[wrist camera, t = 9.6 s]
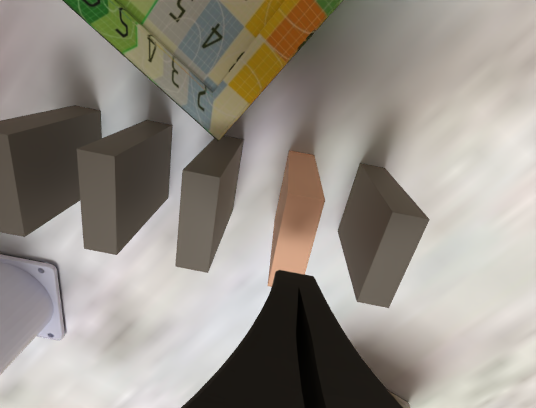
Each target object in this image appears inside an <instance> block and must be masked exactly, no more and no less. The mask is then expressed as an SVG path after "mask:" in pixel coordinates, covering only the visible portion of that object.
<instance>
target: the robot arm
mask: <svg viewBox="0 0 536 408" xmlns="http://www.w3.org/2000/svg"><path fill="white" fill-rule="evenodd" d="M43 269H44V270H43ZM36 336H38V337H43V338H48V339H53V340H61V339H62V338H63V337H64V336H65V332H64V323H63V315H62V307H61V299H60V291H59V283H58V275H57V269H56V267H55V266H54V265H52V264H48V263H43V262H38V261H32V260H27V259H22V258H17V257H12V256H7V255H1V254H0V375H1V374H2V373H3V372H4V370H5V369H6V368H7V367H8V366H9V365H10V364H11V363H12V362H13V361H14V360H15V359H16V358H17V356H18V355H19V354H20V353H21V352H22V351H23V350H24V349H25V348H26V347H27V346H28V345H29V343H30V342H31V341H32V340H33V339H34V338H35V337H36ZM181 408H403V407H402V406H401V405H400V404H399V402H398V401H397V400H396V399H395V398H394V397H393V396H392V395H391V394H390V392H389V391H388V390H387V389H386V388H385V387H384V386H383V384H382V383H381V382H380V381H379V380H378V378H377V377H376V376H375V375H374V374H373V372H372V371H371V370H370V368H369V367H368V366H367V364H366V363H365V362H364V361H363V359H362V358H361V357H360V355H359V354H358V352H357V351H356V350H355V348H354V347H353V345H352V344H351V342H350V341H349V339H348V338H347V336H346V334H345V333H344V331H343V330H342V328H341V326H340V325H339V323H338V321H337V320H336V318H335V316H334V314H333V313H332V311H331V309H330V307H329V305H328V304H327V302H326V300H325V298H324V296H323V294H322V292H321V290H320V288H319V286H318V284H317V282H316V280H315V278H314V277H313V276H309V275H304V274H299V273H294V272H288V271H283V270H278V271H276V272H275V276H274V280H273V284H272V288H271V292H270V294H269V296H268V298H267V300H266V302H265V304H264V307H263V308H262V310H261V312H260V314H259V315H258V317H257V319H256V320H255V322H254V324H253V325H252V327H251V328H250V330H249V331H248V333H247V334H246V336H245V337H244V339H243V340H242V341H241V343H240V344H239V346H238V347H237V348H236V349H235V351H234V352H233V353H232V354H231V356H230V357H229V358H228V359H227V361H226V362H225V363H224V364H223V365H222V367H221V368H220V369H219V370H218V371H217V372H216V373H215V374H214V375H213V376H212V378H211V379H210V380H209V381H208V382H207V383H206V384H205V385H204V386H203V387H202V388H201V389H200V390H199V391H198V392H197V393H196V394H195V395H194V396H193V397H192V398H191V399H190V400H189V401H188V402H187V403H186V404H185V405H183V406H182V407H181Z"/></svg>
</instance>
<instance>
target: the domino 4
mask: <svg viewBox="0 0 536 408" xmlns="http://www.w3.org/2000/svg"><path fill="white" fill-rule="evenodd" d="M324 202H325V198H324V194H323V190H322V186H321V181H320V177H319V173H318V169H317V165H316V161H315V157H314V155H311V154H306V153H300V152H295V151H290V150H289V153H288V158H287V163H286V167H285V172H284V177H283V182H282V187H281V192H280V197H279V201H278V206H277V211H276V216H275V221H274V231H273V240H272V250H271V259H270V269H269V278H268V286H271V287H272V284H273V280H274V276H275V272H276V271H278V270H283V271H288V272H294V273H299V274H304V275H305V271H306V268H307V264H308V260H309V257H310V253H311V249H312V246H313V242H314V239H315V235H316V231H317V228H318V224H319V220H320V217H321V213H322V210H323V206H324Z"/></svg>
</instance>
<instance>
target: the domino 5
mask: <svg viewBox="0 0 536 408" xmlns="http://www.w3.org/2000/svg"><path fill="white" fill-rule="evenodd" d="M428 222H429V218H428V217H427V216H426V215H425V214H424V213H423V211H422V210H421V209H420V208H419V207H418V206H417V205H416V203H415V202H414V201H413V200H412V199H411V198H410V197H409V195H408V194H407V193H406V192H405V191H404V190H403V188H402V187H401V186H400V185H399V184H398V183H397V182H396V180H395V179H394V178H393V177H392V176H391V175H390V173H389V172H388V171H387V170H386V169H385V168H382V167H377V166H372V165H367V164H362V163H360V164H359V167H358V170H357V174H356V177H355V180H354V183H353V186H352V189H351V192H350V195H349V198H348V201H347V204H346V207H345V210H344V214H343V217H342V220H341V223H340V226H339V229H338V234H339V238H340V241H341V245H342V249H343V252H344V256H345V260H346V263H347V267H348V271H349V274H350V278H351V282H352V285H353V289H354V293H355V297H356V300H357V302H361V303H366V304H371V305H376V306H382V307H387V308H389V306H390V304H391V302H392V300H393V298H394V295H395V293H396V291H397V289H398V287H399V284H400V282H401V280H402V278H403V276H404V274H405V271H406V269H407V267H408V265H409V263H410V261H411V258H412V256H413V254H414V252H415V250H416V248H417V245H418V243H419V241H420V239H421V237H422V235H423V232H424V230H425V228H426V226H427V224H428Z"/></svg>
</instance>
